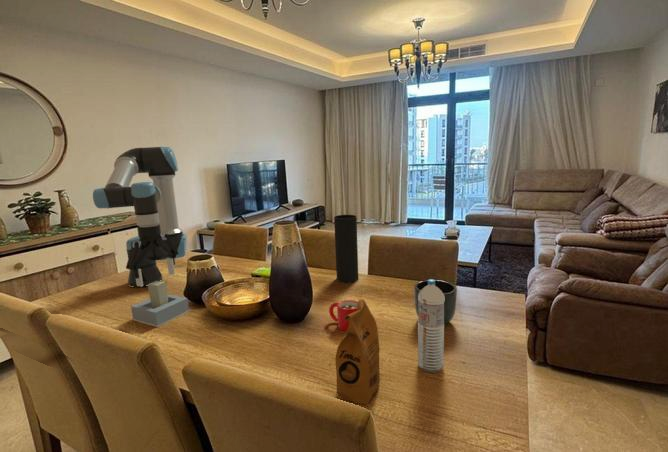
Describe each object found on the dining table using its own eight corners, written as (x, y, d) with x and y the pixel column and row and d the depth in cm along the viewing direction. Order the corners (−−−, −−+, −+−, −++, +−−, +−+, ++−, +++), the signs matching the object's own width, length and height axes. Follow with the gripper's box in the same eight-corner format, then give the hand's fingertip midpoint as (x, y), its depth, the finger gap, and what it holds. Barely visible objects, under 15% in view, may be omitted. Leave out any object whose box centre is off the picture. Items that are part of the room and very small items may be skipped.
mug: (335, 317, 134) (334, 296, 133) (364, 323, 128) (364, 302, 127) (323, 326, 128) (322, 304, 126) (354, 333, 122) (353, 311, 120)
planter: (411, 328, 123) (411, 292, 120) (417, 311, 136) (417, 278, 133) (455, 334, 118) (456, 296, 116) (456, 315, 131) (457, 281, 128)
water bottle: (414, 360, 104) (414, 276, 99) (438, 358, 105) (439, 275, 100) (422, 374, 98) (422, 285, 93) (447, 372, 98) (449, 283, 93)
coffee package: (330, 398, 90) (326, 314, 86) (350, 371, 101) (348, 295, 96) (368, 409, 86) (365, 322, 81) (385, 379, 96) (384, 300, 92)
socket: (165, 306, 151) (163, 293, 150) (189, 311, 144) (187, 298, 143) (133, 320, 139) (131, 306, 138) (157, 327, 132) (155, 312, 131)
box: (171, 313, 142) (166, 281, 140) (161, 317, 138) (157, 285, 136) (161, 311, 144) (156, 280, 142) (151, 315, 140) (146, 284, 138)
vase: (358, 282, 168) (356, 218, 162) (336, 283, 168) (334, 219, 162) (357, 275, 178) (355, 214, 172) (336, 276, 178) (334, 215, 172)
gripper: (170, 217, 147) (177, 268, 151) (108, 231, 125) (118, 290, 130) (183, 218, 143) (190, 270, 148) (121, 233, 122) (131, 293, 127)
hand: (156, 279), depth 139 cm, fingers open, 13 cm apart
